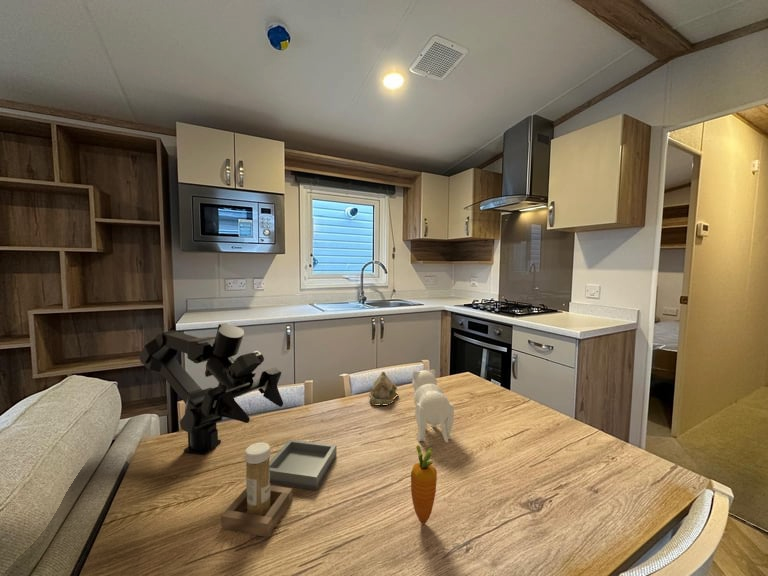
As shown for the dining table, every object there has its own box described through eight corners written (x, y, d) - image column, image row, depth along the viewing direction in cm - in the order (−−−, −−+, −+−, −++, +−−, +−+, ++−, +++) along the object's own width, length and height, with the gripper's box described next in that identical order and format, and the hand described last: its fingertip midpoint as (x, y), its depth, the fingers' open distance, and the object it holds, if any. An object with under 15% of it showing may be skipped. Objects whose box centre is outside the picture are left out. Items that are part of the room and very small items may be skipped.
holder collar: (221, 528, 60) (220, 515, 60) (251, 493, 69) (251, 482, 69) (267, 537, 58) (267, 524, 58) (292, 499, 67) (292, 488, 67)
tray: (262, 482, 73) (262, 469, 73) (289, 450, 85) (289, 439, 85) (316, 490, 70) (316, 477, 70) (336, 456, 83) (336, 444, 83)
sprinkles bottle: (273, 516, 63) (272, 449, 62) (248, 526, 60) (247, 457, 60) (267, 501, 67) (266, 439, 66) (244, 510, 64) (243, 445, 63)
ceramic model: (370, 391, 127) (371, 366, 127) (399, 392, 126) (399, 367, 126) (365, 406, 113) (365, 378, 113) (397, 407, 112) (397, 379, 112)
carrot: (408, 514, 64) (409, 441, 63) (432, 513, 64) (434, 440, 63) (412, 535, 59) (413, 456, 58) (439, 533, 59) (440, 455, 58)
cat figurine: (467, 456, 84) (468, 393, 82) (428, 460, 81) (429, 396, 80) (433, 413, 108) (434, 364, 107) (403, 416, 106) (403, 366, 105)
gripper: (196, 353, 69) (238, 399, 62) (268, 337, 85) (307, 372, 78) (185, 394, 72) (224, 442, 65) (256, 371, 88) (293, 407, 81)
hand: (266, 412), depth 73 cm, fingers open, 9 cm apart
